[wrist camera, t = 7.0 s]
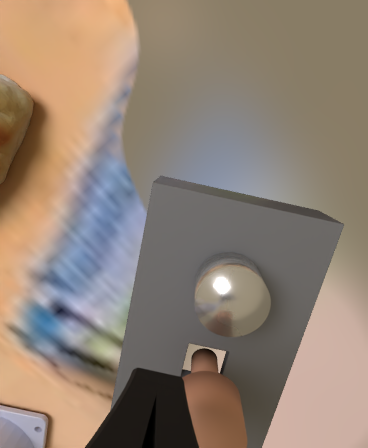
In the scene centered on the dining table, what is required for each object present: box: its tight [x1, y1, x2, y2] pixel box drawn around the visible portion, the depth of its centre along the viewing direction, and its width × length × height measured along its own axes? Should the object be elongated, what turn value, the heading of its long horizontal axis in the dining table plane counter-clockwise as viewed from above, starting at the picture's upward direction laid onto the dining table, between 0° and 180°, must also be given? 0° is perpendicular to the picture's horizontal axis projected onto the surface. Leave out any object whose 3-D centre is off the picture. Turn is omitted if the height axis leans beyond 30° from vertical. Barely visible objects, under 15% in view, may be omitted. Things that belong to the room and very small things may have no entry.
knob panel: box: [110, 176, 344, 448], centre depth 17 cm, size 18×9×3 cm, turn 168°
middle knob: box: [182, 348, 247, 448], centre depth 14 cm, size 3×3×5 cm
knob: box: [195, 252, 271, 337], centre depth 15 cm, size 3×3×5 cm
